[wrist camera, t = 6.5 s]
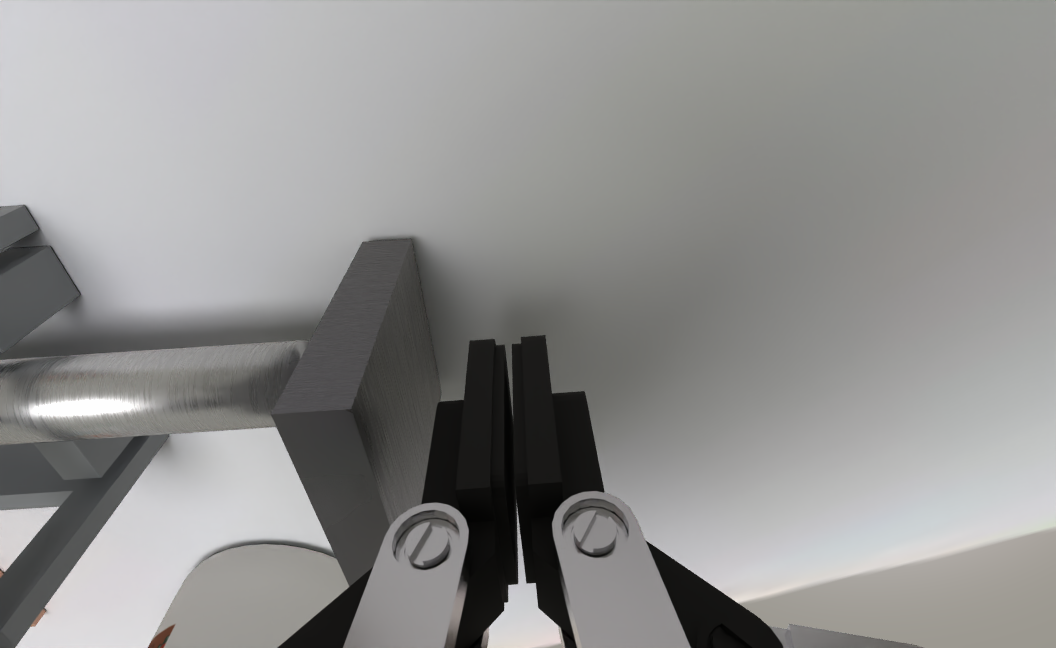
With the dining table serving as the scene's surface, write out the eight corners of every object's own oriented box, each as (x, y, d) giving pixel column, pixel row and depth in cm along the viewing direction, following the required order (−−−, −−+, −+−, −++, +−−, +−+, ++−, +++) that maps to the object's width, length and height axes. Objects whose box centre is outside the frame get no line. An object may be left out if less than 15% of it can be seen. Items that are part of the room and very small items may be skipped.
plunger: (411, 238, 13) (350, 409, 8) (441, 392, 15) (411, 589, 10) (-306, 285, 13) (-830, 485, 8) (-146, 430, 15) (-454, 646, 10)
